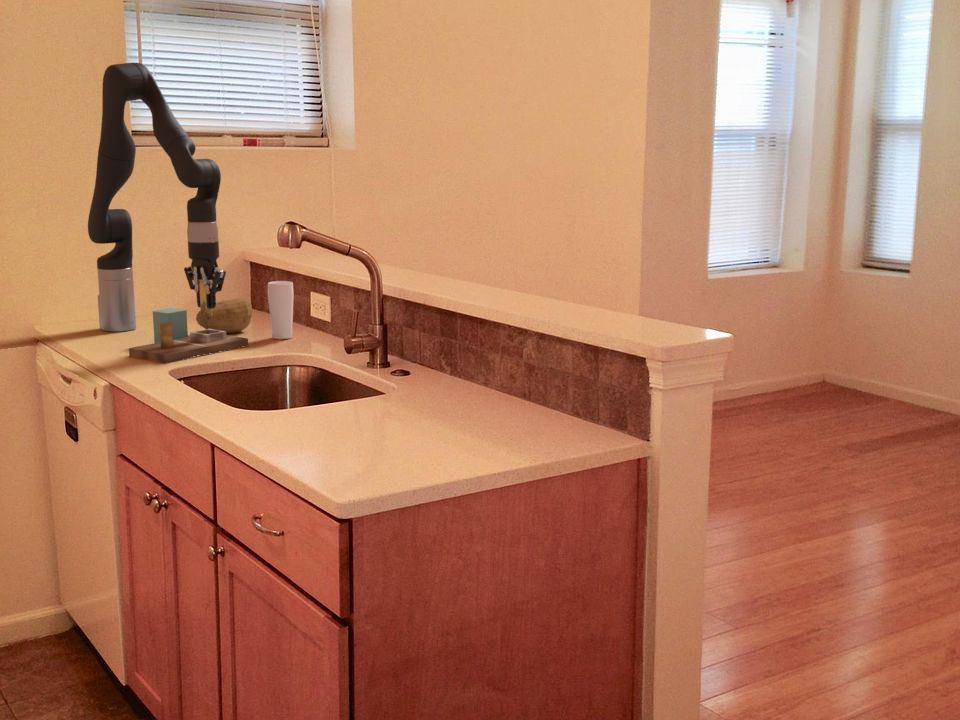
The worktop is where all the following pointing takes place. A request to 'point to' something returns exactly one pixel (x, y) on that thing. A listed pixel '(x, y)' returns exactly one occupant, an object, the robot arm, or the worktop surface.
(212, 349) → the board
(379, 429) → the worktop surface
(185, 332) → the block
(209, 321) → the potato
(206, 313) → the pin
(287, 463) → the worktop surface
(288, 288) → the drinking glass
